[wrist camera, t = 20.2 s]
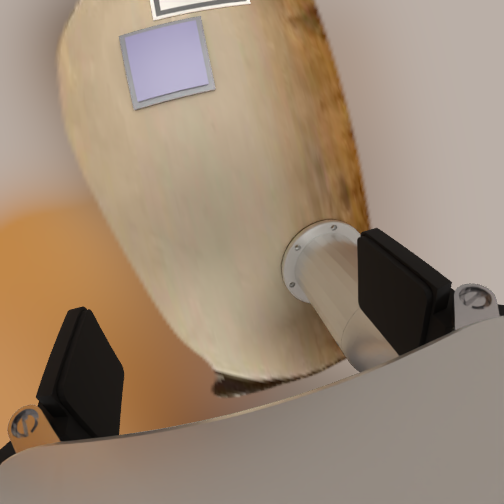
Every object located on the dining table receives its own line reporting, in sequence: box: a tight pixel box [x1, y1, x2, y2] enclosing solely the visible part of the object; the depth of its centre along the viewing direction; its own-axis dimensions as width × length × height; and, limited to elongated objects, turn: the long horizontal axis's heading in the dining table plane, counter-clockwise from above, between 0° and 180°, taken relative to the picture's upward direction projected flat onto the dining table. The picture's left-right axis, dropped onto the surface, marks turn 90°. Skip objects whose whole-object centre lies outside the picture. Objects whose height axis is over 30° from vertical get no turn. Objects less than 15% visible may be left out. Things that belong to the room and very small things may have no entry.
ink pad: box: [119, 16, 216, 110], centre depth 29 cm, size 9×9×2 cm
